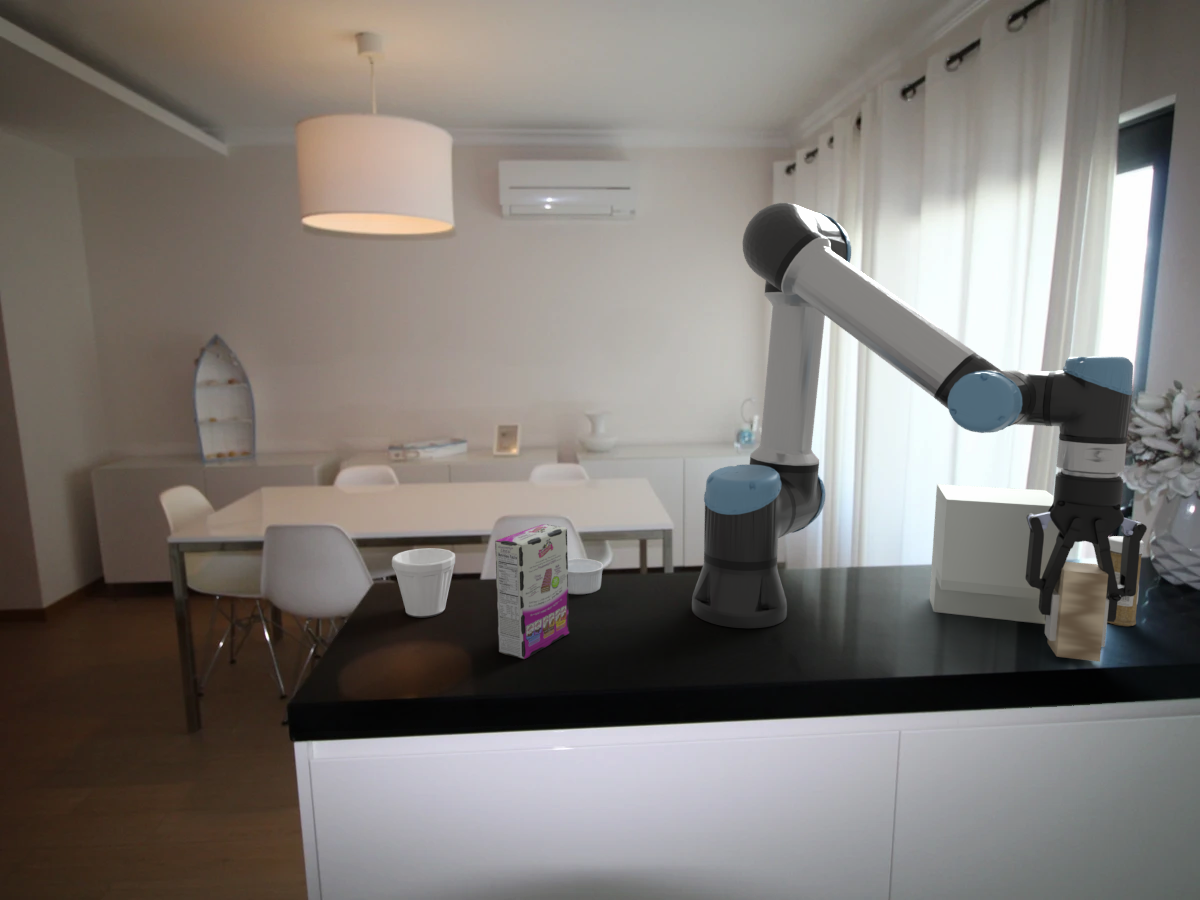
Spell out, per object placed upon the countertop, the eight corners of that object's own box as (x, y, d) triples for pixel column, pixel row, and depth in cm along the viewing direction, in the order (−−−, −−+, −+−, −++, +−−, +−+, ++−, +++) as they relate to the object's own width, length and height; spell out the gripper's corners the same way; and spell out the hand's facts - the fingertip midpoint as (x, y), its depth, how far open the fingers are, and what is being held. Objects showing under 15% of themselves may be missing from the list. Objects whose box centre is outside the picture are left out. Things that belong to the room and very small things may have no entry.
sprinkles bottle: (1140, 623, 114) (1149, 539, 112) (1128, 629, 111) (1136, 544, 109) (1107, 614, 117) (1115, 533, 116) (1094, 620, 115) (1102, 537, 113)
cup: (381, 612, 117) (379, 556, 116) (433, 597, 125) (432, 544, 123) (416, 627, 111) (414, 569, 109) (469, 611, 118) (468, 555, 117)
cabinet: (938, 626, 112) (946, 499, 109) (929, 598, 125) (936, 484, 122) (1057, 640, 107) (1069, 507, 104) (1035, 609, 120) (1045, 490, 117)
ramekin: (574, 577, 136) (574, 555, 136) (613, 586, 131) (613, 563, 131) (543, 589, 129) (543, 566, 129) (583, 599, 124) (583, 575, 124)
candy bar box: (542, 627, 111) (542, 523, 109) (570, 634, 108) (569, 527, 106) (495, 653, 101) (493, 538, 99) (523, 661, 99) (522, 543, 97)
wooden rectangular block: (1056, 656, 98) (1064, 570, 97) (1030, 618, 113) (1037, 542, 111) (1099, 661, 97) (1108, 574, 95) (1067, 621, 111) (1074, 545, 109)
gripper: (1018, 473, 96) (1005, 641, 99) (1182, 481, 90) (1163, 660, 93) (1007, 465, 103) (995, 622, 106) (1159, 472, 97) (1141, 638, 100)
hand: (1073, 639), depth 100 cm, fingers closed on wooden rectangular block, 5 cm apart
